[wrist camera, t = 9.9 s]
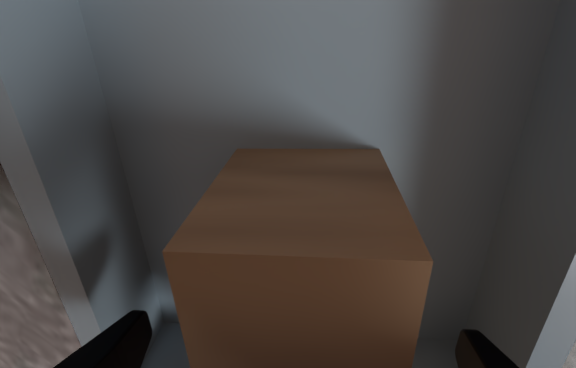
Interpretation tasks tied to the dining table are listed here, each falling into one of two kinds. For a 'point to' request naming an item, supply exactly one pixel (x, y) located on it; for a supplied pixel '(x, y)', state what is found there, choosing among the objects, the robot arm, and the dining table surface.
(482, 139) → the tray
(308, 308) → the walnut box
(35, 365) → the dining table surface
